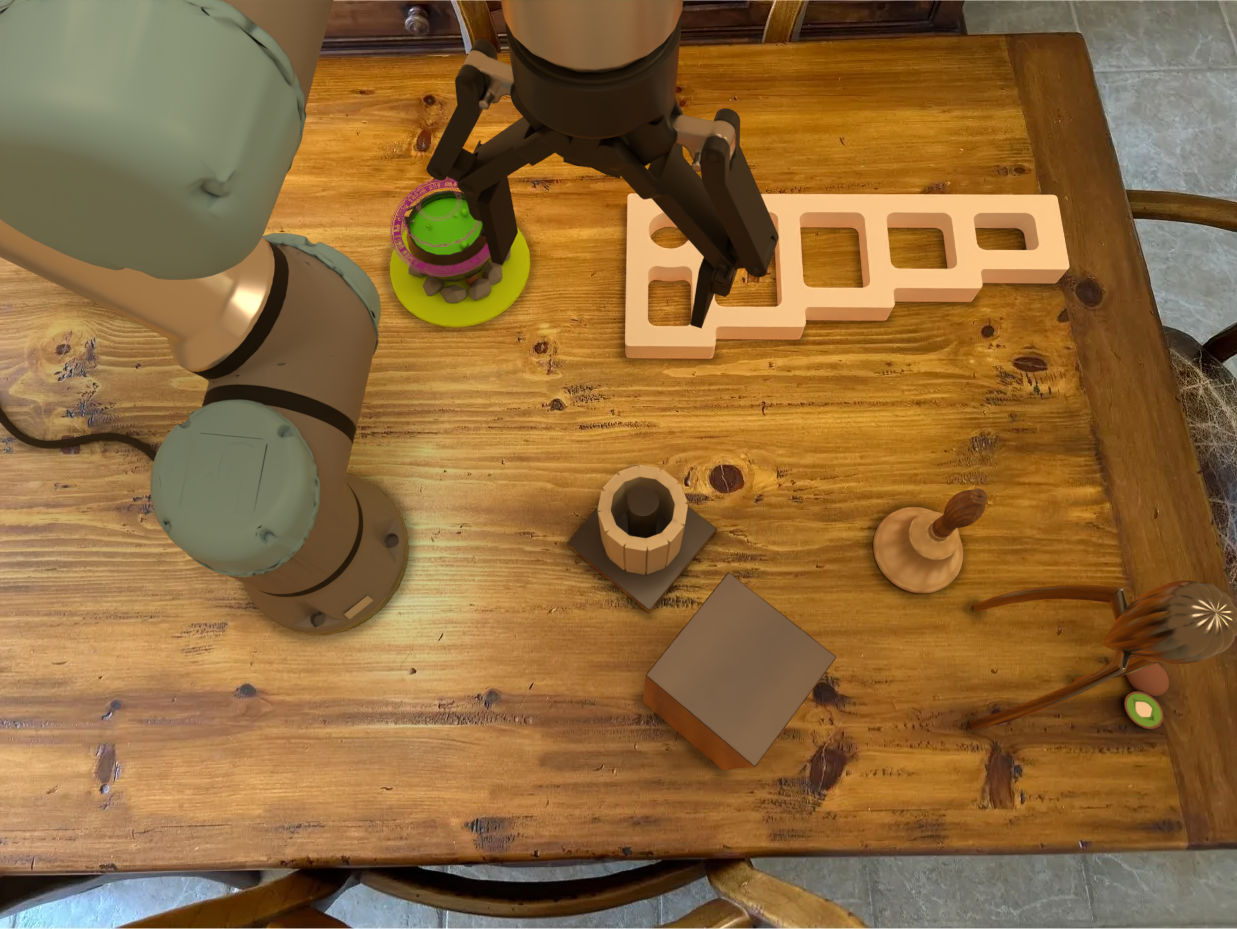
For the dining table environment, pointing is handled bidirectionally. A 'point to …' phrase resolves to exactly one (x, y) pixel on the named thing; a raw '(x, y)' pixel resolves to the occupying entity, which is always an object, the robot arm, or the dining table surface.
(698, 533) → the tape peg
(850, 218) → the holder
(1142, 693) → the kiwi fruit
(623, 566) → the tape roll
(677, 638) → the stand block
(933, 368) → the dining table surface
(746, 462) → the dining table surface
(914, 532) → the hand bell
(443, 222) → the toy cauldron
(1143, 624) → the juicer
